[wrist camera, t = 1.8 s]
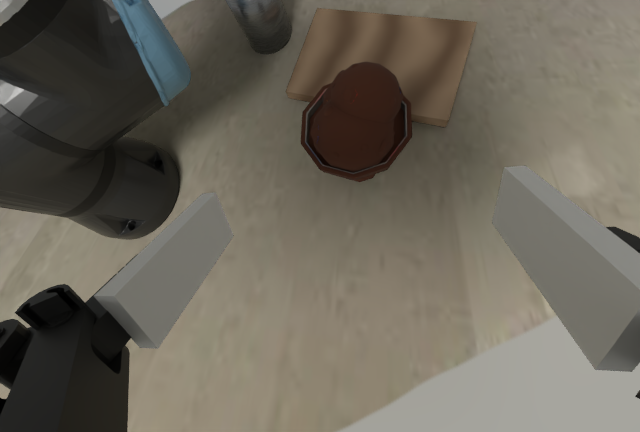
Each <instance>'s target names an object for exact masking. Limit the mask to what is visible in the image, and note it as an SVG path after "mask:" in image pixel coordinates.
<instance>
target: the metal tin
mask: <svg viewBox="0 0 640 432" xmlns="http://www.w3.org/2000/svg"><path fill="white" fill-rule="evenodd" d="M226 2H227V4H228V5H229V7H230V9H231V11H232V13H233V14H234V16H235V18H236V20H237V22H238V23H239V25H240V27H241V29H242V30H243V32H244V34H245V36H246V38H247V39H248V41H249V43H250V45H251V47H252V48H253V49H254V50H255V51H256V52H257V53H260V54H272V53H275V52H277V51H279V50H281V49H282V48H283V47H284V46H285V45H286V44H287V43H288V41H289V39H290V37H291V33H292V29H291V25H290V22H289V19H288V16H287V14H286V11H285V8H284V5H283V2H282V0H226Z"/></svg>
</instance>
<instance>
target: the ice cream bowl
mask: <svg viewBox="0 0 640 432" xmlns="http://www.w3.org/2000/svg"><path fill="white" fill-rule="evenodd" d="M411 138H412V119H411V103H410V101H409V100H408V99H407V98H406V97H405V96H404V95H403V92H402V90H401V88H400V86H399V83H398V80H397V78H396V76H395V75H394V74H393V73H392V72H391V71H389V70H388V69H387V68H385V67H384V66H382V65H381V64H378V63H372V62H361V63H356V64H352V65H351V66H350V67H348V68H347V69H346V70H342V71H340V72H339V73H338V74H337V76H336V77H335V79H334V80H333V82H332V83H330V84H327V85H325V86H323V87H322V88H321V89H320V91H319V92H318V93H317V94H316V96H315V97H314V98H313V100H312V101H311V102H310V103H309V105H308V106H307V107H306V109H305V110H304V111H303V114H302V131H301V144H302V146H303V147H304V149H305V150H306V151H307V153H308V154H309V155H310V157H311V158H312V160H313V161H314V162H315V164H316V165H317V166H318V168H319V169H320V170H322V171H323V172H325V173H329V174H333V175H336V176H340V177H343V178H347V179H350V180H354V181H358V182H362V181H365V180H368V179H371V178H373V177H374V175H375V174H376V173H379V172H382V171H385V170H387V169H388V168H389V167H390V165H391V164H392V163H393V161H394V160H395V159H396V157H397V156H398V155H399V153H400V152H401V151H402V150H403V148H404V147H405V146H406V144H407V143H408V142H409V140H410V139H411Z"/></svg>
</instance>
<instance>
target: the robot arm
mask: <svg viewBox="0 0 640 432" xmlns="http://www.w3.org/2000/svg"><path fill="white" fill-rule="evenodd" d="M190 78H191V72H190V68H189V66H188V64H187V62H186V60H185V58H184V56H183V54H182V53H181V51H180V49H179V48H178V46H177V44H176V43H175V41H174V40H173V38H172V36H171V35H170V33H169V32H168V30H167V29H166V27H165V25H164V24H163V22H162V21H161V19H160V18H159V16H158V15H157V13H156V12H155V10H154V9H153V7H152V6H151V4H150V3H149V1H148V0H0V207H2V208H9V209H15V210H22V211H28V212H35V213H41V214H48V215H54V216H60V217H66V218H69V219H71V220H73V221H75V222H77V223H79V224H81V225H83V226H85V227H87V228H89V229H91V230H93V231H95V232H97V233H99V234H101V235H104V236H107V237H111V238H118V239H137V238H140V237H143V236H145V235H147V234H149V233H151V232H152V231H154V230H155V229H156V228H158V227H159V226H160V225H161V224H162V223H163V222H164V220H165V219H166V218H167V216H168V215H169V213H170V212H171V210H172V208H173V206H174V204H175V201H176V198H177V194H178V188H179V176H178V171H177V168H176V165H175V163H174V161H173V159H172V158H171V157H170V156H169V155H168V154H167V153H166V152H165V151H163V150H162V149H160V148H158V147H156V146H155V145H153V144H151V143H149V142H146V141H142V140H137V139H132V138H127V137H122V136H123V135H125V134H126V133H127V132H129V131H130V130H131V129H133V128H134V127H136V126H137V125H138V124H140V123H141V122H142V121H144V120H145V119H146V118H148V117H149V116H151V115H152V114H153V113H155V112H156V111H157V110H159V109H160V108H161V107H163V106H168V105H169V101H170V100H172V99H173V98H174V97H175V96H176V95H178V94H179V93H180V92H181V91H183V90H184V89H185V88H186V87H187V86H188V84H189V82H190ZM492 224H493V225H494V226H495V228H496V229H497V231H498V232H499V234H500V235H501V236H502V238H503V239H504V241H505V242H506V244H507V245H508V246H509V248H510V249H511V251H512V252H513V253H514V255H515V256H516V258H517V259H518V261H519V262H520V263H521V265H522V266H523V268H524V269H525V271H526V272H527V273H528V275H529V276H530V278H531V279H532V280H533V282H534V283H535V285H536V286H537V288H538V289H539V290H540V292H541V293H542V295H543V296H544V298H545V299H546V300H547V302H548V303H549V305H550V306H551V307H552V309H553V310H554V312H555V313H556V315H557V316H558V317H559V319H560V320H561V321H562V323H563V325H564V326H565V327H566V329H567V330H568V332H569V333H570V334H571V336H572V337H573V339H574V340H575V342H576V343H577V344H578V346H579V347H580V349H581V350H582V352H583V353H584V354H585V356H586V357H587V359H588V360H589V361H590V363H591V364H592V366H593V367H594V369H595V370H610V371H630V372H632V371H633V370H634V368H635V367H636V366H637V365H638V364H639V362H640V238H638V237H637V236H635V235H632V234H630V233H628V232H625V231H623V230H621V229H619V228H616V227H605V226H603V225H602V224H601V223H599V222H598V221H597V220H596V219H594V218H593V217H592V216H590V215H589V214H588V213H586V212H585V211H584V210H583V209H581V208H580V207H579V206H577V205H576V204H575V203H573V202H572V201H571V200H570V199H568V198H567V197H566V196H564V195H563V194H562V193H560V192H559V191H558V190H557V189H555V188H554V187H553V186H551V185H550V184H549V183H547V182H546V181H545V180H544V179H542V178H541V177H540V176H538V175H537V174H536V173H534V172H533V171H532V170H531V169H529V168H528V167H527V166H514V167H504V170H503V175H502V179H501V184H500V188H499V193H498V197H497V202H496V207H495V211H494V216H493V220H492ZM233 236H234V235H233V233H232V230H231V228H230V225H229V223H228V221H227V218H226V216H225V213H224V211H223V208H222V206H221V204H220V201H219V199H218V196H217V194H216V192H215V193H204V194H202V195H200V196H199V197H198V198H197V199H196V200H195V201H194V202H193V203H192V204H191V205H190V206H189V207H188V208H187V209H186V210H185V211H183V212H182V213H181V214H180V215H179V216H178V217H177V218H176V219H175V220H174V221H173V222H172V223H171V224H170V225H169V226H168V227H166V228H165V229H164V230H163V231H162V232H161V233H160V234H159V235H158V236H157V237H156V238H155V239H154V240H153V241H152V242H151V243H149V244H148V245H147V246H146V247H145V248H144V249H143V250H142V251H141V252H140V253H139V254H137V255H136V256H135V257H134V258H132V259H131V260H130V261H129V262H128V263H127V264H126V266H125V267H123V268H122V269H121V270H120V271H119V272H118V274H115V275H114V276H113V277H112V278H111V279H110V280H109V281H108V282H107V283H106V284H105V285H104V286H103V287H102V288H100V289H99V290H98V291H97V292H96V293H95V294H94V295H93V296H92V297H91V298H90V299H89V300H88V301H87V302H86V303H85V302H84V301H83V300H82V299H81V298H80V297H79V296H78V295H77V294H76V293H75V292H74V291H73V290H72V289H71V288H70V287H69V286H68V285H65V284H63V285H56V286H53V287H50V288H48V289H46V290H44V291H42V292H40V293H38V294H36V295H35V296H33V297H31V298H30V299H28V300H27V301H26V302H25V303H23V304H22V305H21V306H20V307H19V308H18V310H17V311H16V312H15V313H16V314H17V315H18V316H19V317H21V318H22V319H23V320H24V321H25V322H27V323H28V324H29V325H30V326H31V327H30V328H26V327H25V326H24V325H23V324H21V323H20V322H19V321H18V320H15V319H11V320H6V321H3V322H0V383H1V384H3V385H4V386H6V387H7V388H9V389H11V390H10V393H9V395H8V397H7V399H1V398H0V432H127V421H128V386H129V350H128V348H127V347H126V346H125V345H126V343H127V342H128V341H129V340H130V338H132V339H133V341H134V342H135V343H136V344H137V345H138V346H139V347H140V348H159V346H160V345H161V343H162V342H163V340H164V339H165V337H166V336H167V334H168V333H169V331H170V330H171V328H172V327H173V325H174V324H175V322H176V321H177V319H178V318H179V316H180V315H181V313H182V312H183V310H184V309H185V307H186V306H187V304H188V303H189V301H190V300H191V299H192V297H193V296H194V294H195V293H196V291H197V290H198V288H199V287H200V285H201V284H202V282H203V281H204V279H205V278H206V276H207V275H208V273H209V272H210V270H211V269H212V267H213V266H214V264H215V263H216V261H217V260H218V258H219V257H220V255H221V254H222V252H223V251H224V249H225V248H226V246H227V245H228V243H229V242H230V240H231V239H232V237H233ZM636 397H637V398H639V399H640V390H639V392H638V393H637V395H636Z"/></svg>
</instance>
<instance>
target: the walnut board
mask: <svg viewBox="0 0 640 432" xmlns="http://www.w3.org/2000/svg"><path fill="white" fill-rule="evenodd" d="M476 24H477V22H470V21H458V20H447V19H435V18H424V17H412V16H401V15H390V14H378V13H367V12H355V11H344V10H332V9H321V8H317V10H316V13H315V15H314V18H313V21H312V23H311V26H310V28H309V31H308V34H307V36H306V39H305V42H304V44H303V47H302V50H301V52H300V55H299V58H298V60H297V63H296V66H295V68H294V71H293V73H292V76H291V79H290V81H289V84H288V87H287V89H286V93H287V95H288V97H289V98H291V99H296V100H302V101H307V102H311V101H312V100H313V98H314V97H315V96H316V94H317V93H318V92H319V91H320V89H321V88H322V87H323V86H325V85H327V84H330V83H332V82H333V80H334V79H335V77H336V76H337V74H338V73H339V72H340V71H342V70H346V69H347V68H348V67H350V66H351V65H352V64H356V63H361V62H372V63H378V64H381V65H382V66H384V67H385V68H387V69H388V70H389V71H391V72H392V73H393V74H394V75H395V76H396V78H397V80H398V83H399V86H400V88H401V90H402V92H403V95H404V96H405V97H406V98H407V99H408V100H409V101H410V103H411V119H412V121H415V122H420V123H425V124H431V125H436V126H442V127H446V125H447V123H448V121H449V118H450V114H451V111H452V107H453V104H454V100H455V97H456V93H457V90H458V86H459V83H460V79H461V76H462V72H463V69H464V66H465V62H466V59H467V55H468V52H469V48H470V45H471V41H472V38H473V34H474V31H475V27H476Z"/></svg>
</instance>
